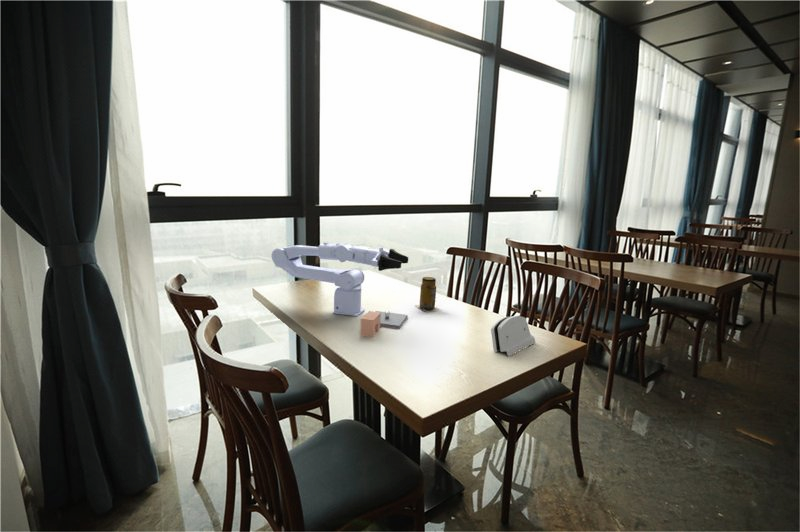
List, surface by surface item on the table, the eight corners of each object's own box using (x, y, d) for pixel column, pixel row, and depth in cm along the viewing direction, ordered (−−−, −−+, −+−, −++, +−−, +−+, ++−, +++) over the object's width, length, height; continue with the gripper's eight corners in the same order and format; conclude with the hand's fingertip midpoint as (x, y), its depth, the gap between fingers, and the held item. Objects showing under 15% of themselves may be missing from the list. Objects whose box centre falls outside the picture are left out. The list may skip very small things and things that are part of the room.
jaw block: (360, 335, 119) (360, 318, 118) (368, 326, 126) (369, 311, 125) (372, 337, 118) (373, 320, 117) (380, 328, 126) (380, 312, 124)
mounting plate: (364, 324, 129) (365, 321, 129) (375, 313, 140) (375, 310, 140) (399, 328, 126) (399, 325, 126) (407, 317, 137) (407, 314, 137)
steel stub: (384, 318, 132) (384, 312, 132) (385, 316, 134) (385, 310, 133) (388, 318, 132) (388, 312, 132) (389, 317, 134) (390, 311, 133)
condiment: (430, 304, 155) (432, 275, 153) (441, 310, 148) (443, 280, 145) (414, 306, 152) (416, 276, 149) (425, 312, 144) (427, 281, 142)
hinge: (508, 356, 108) (501, 322, 109) (494, 356, 111) (487, 323, 112) (536, 342, 120) (529, 311, 120) (522, 343, 123) (516, 312, 124)
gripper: (360, 249, 127) (398, 255, 123) (376, 241, 140) (411, 247, 136) (359, 269, 129) (396, 276, 125) (375, 260, 142) (410, 266, 138)
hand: (404, 262), depth 130 cm, fingers open, 7 cm apart
